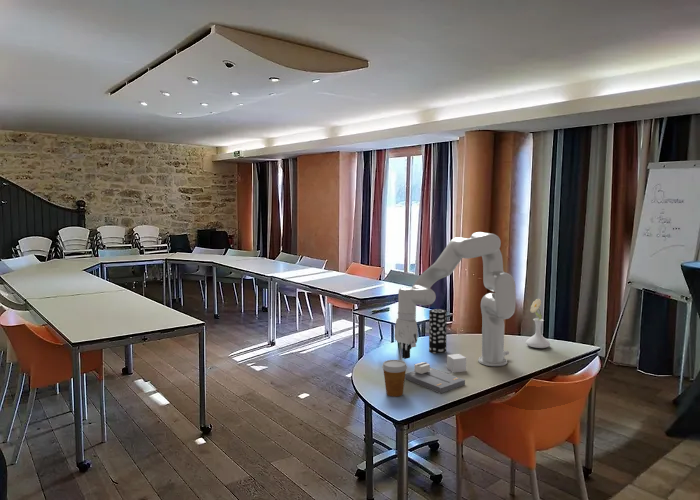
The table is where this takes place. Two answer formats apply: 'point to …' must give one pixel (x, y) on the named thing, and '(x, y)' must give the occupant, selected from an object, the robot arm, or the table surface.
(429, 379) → the console
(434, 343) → the spotted tube
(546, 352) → the table surface
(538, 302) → the flower in vase
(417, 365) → the fader
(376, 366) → the table surface
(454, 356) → the white cube
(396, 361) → the disposable coffee cup
